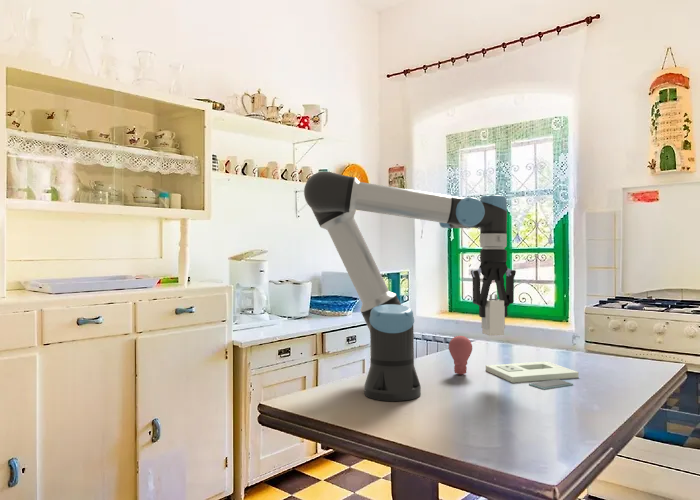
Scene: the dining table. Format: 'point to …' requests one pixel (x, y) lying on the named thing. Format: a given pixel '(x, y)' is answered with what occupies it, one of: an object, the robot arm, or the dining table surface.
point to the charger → (495, 317)
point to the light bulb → (460, 353)
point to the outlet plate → (531, 371)
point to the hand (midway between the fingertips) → (493, 328)
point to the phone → (550, 384)
